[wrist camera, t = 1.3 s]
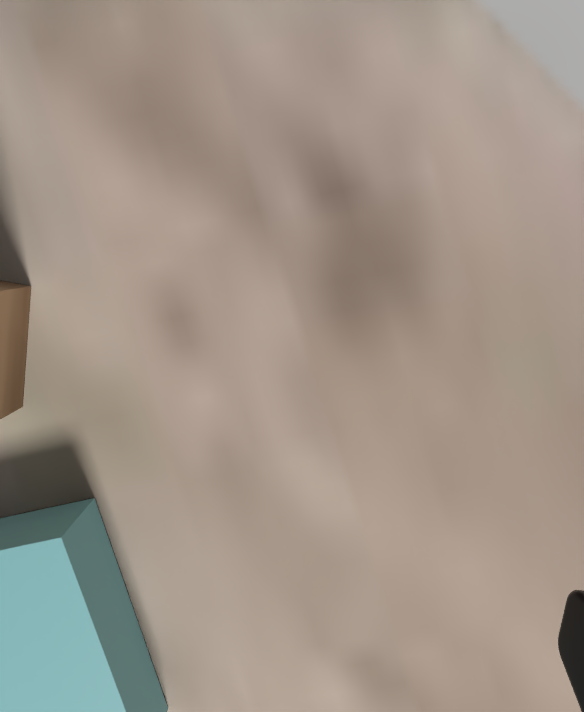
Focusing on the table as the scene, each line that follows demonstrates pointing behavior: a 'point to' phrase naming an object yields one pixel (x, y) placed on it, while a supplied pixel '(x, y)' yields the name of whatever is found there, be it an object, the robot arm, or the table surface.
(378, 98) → the table surface
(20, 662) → the base
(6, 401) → the block
